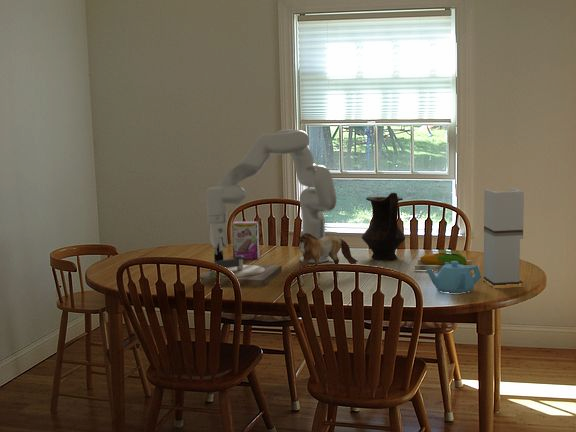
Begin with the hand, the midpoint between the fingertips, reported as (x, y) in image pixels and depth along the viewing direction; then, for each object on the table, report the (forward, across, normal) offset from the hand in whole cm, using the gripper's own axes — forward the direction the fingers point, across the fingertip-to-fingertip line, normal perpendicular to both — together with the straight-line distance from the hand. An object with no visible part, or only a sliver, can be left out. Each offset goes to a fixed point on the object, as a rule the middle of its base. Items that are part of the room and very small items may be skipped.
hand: (219, 264), depth 318 cm
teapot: (+6, -54, -74) cm, 92 cm away
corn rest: (+6, -22, -88) cm, 91 cm away
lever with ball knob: (+3, -2, -4) cm, 5 cm away
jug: (+6, +5, -74) cm, 74 cm away
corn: (+7, -21, -87) cm, 90 cm away
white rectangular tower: (+6, -53, -95) cm, 109 cm away
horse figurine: (+6, -23, -38) cm, 45 cm away
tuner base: (+6, -1, -8) cm, 10 cm away
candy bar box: (+6, +34, -20) cm, 40 cm away
